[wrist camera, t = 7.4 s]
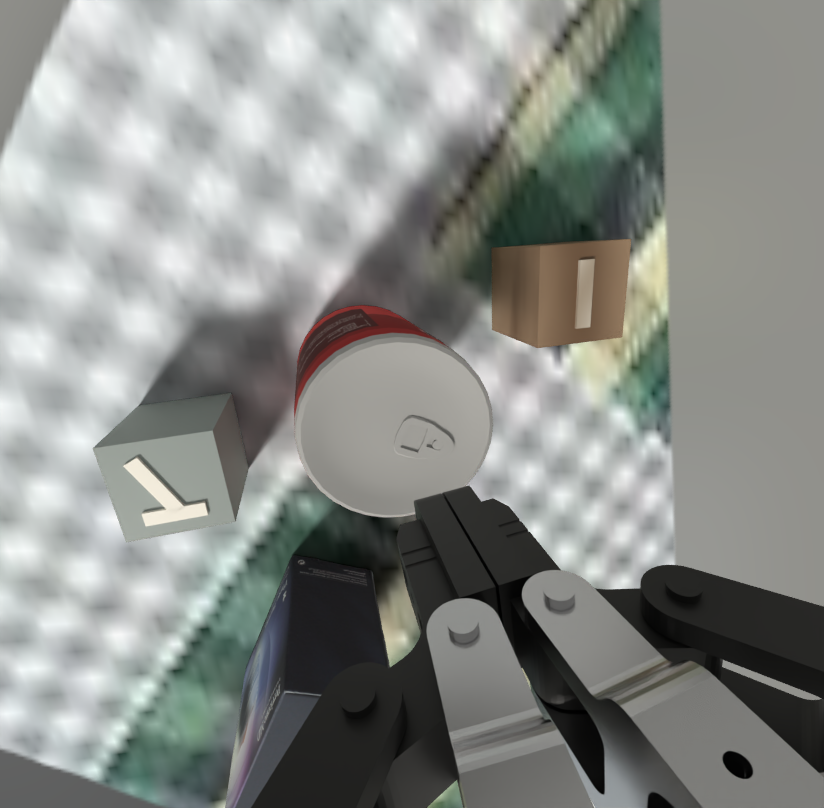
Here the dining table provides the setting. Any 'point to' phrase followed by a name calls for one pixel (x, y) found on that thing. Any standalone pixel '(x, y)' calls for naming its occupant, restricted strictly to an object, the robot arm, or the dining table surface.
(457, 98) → the dining table surface
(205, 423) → the slate digit block
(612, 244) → the walnut digit block
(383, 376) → the canned food
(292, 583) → the small box
